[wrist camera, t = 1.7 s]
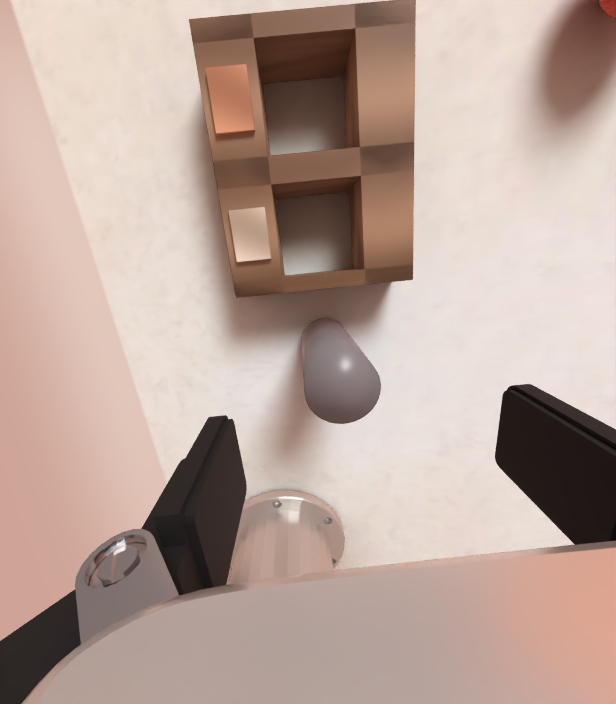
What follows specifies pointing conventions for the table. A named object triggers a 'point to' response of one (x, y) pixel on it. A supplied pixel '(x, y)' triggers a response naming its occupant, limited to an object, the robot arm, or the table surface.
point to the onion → (609, 7)
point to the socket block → (319, 166)
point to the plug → (337, 374)
